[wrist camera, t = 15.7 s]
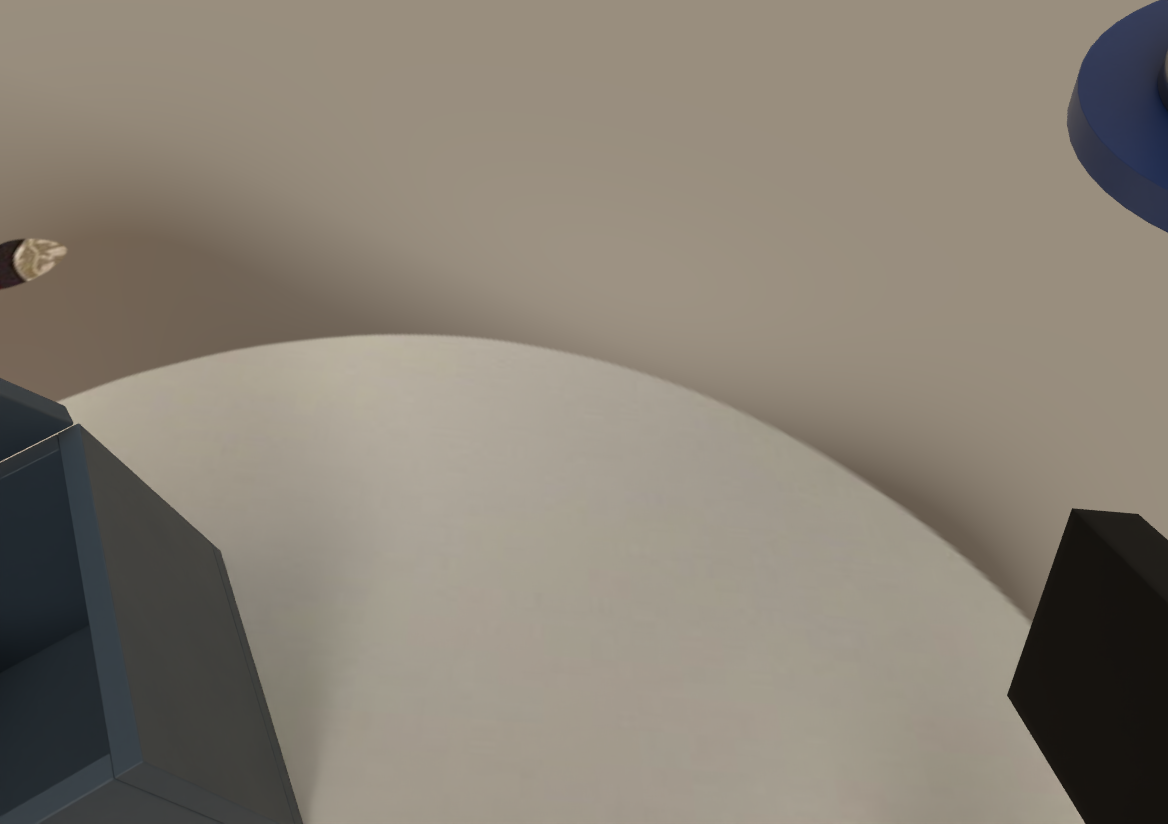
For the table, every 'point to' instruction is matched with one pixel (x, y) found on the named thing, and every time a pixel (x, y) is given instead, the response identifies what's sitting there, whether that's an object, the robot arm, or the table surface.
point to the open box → (122, 656)
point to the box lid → (27, 418)
